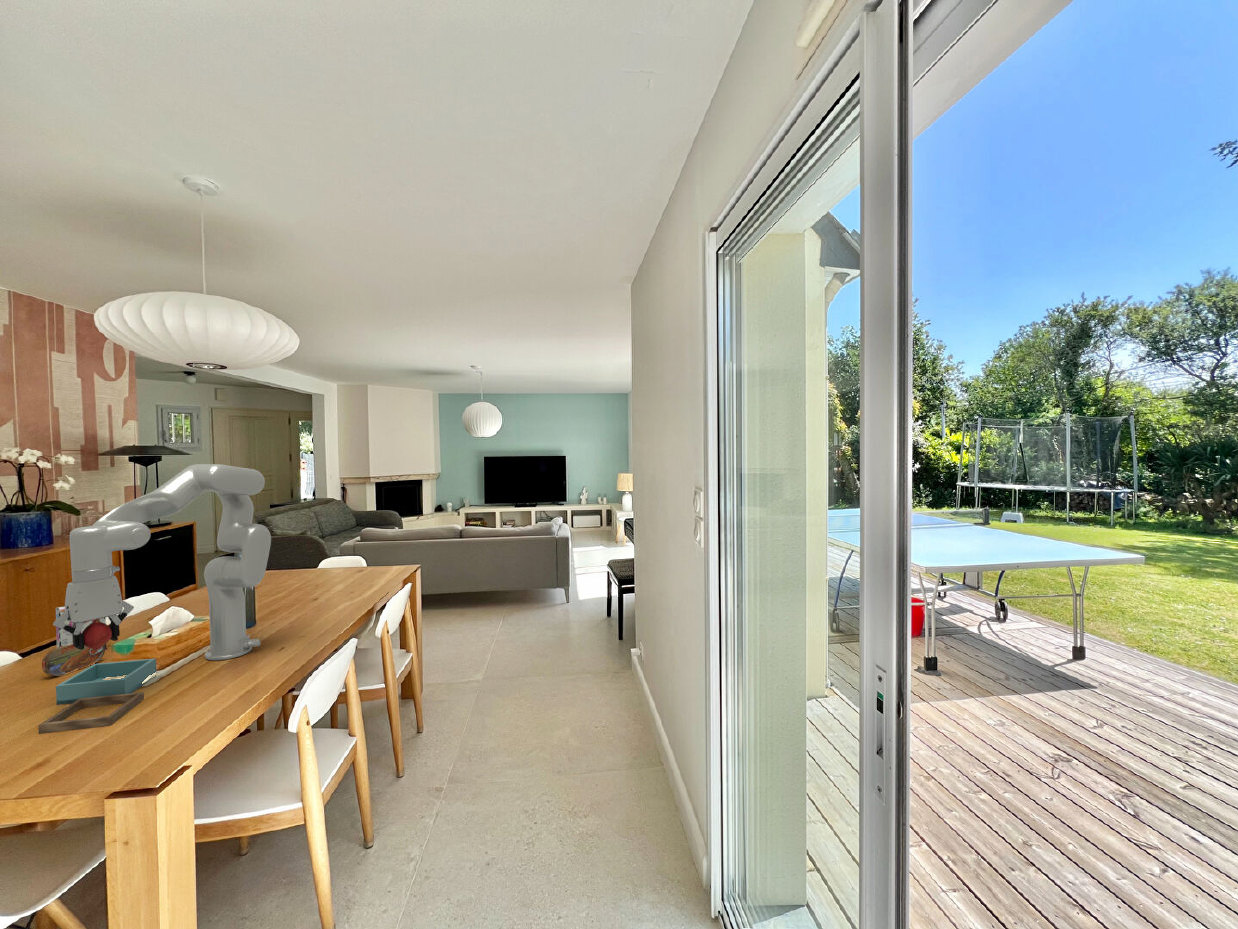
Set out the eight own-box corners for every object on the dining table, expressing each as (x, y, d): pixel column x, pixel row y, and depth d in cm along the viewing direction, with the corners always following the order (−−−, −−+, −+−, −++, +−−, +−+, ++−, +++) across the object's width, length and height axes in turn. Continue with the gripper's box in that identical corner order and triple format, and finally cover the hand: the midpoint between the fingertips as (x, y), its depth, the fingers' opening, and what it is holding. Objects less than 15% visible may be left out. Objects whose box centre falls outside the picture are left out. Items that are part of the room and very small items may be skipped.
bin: (156, 675, 161) (156, 658, 161) (125, 697, 147) (124, 679, 146) (95, 681, 157) (94, 664, 157) (56, 705, 143) (55, 686, 143)
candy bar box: (60, 662, 172) (57, 610, 171) (56, 658, 174) (54, 607, 174) (107, 651, 181) (105, 601, 180) (103, 647, 184) (101, 599, 183)
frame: (144, 699, 146) (143, 692, 146) (110, 725, 132) (109, 717, 132) (80, 706, 142) (79, 698, 142) (38, 733, 129) (38, 725, 128)
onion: (86, 656, 136) (84, 624, 136) (78, 651, 139) (76, 620, 139) (116, 648, 141) (114, 617, 141) (108, 643, 144) (106, 614, 144)
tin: (48, 681, 158) (47, 652, 158) (40, 680, 158) (38, 651, 158) (106, 660, 173) (105, 634, 172) (98, 659, 173) (97, 633, 173)
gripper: (129, 566, 148) (133, 631, 149) (39, 581, 133) (44, 653, 134) (141, 569, 145) (145, 635, 146) (51, 585, 130) (56, 659, 131)
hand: (97, 643), depth 140 cm, fingers closed on onion, 5 cm apart
